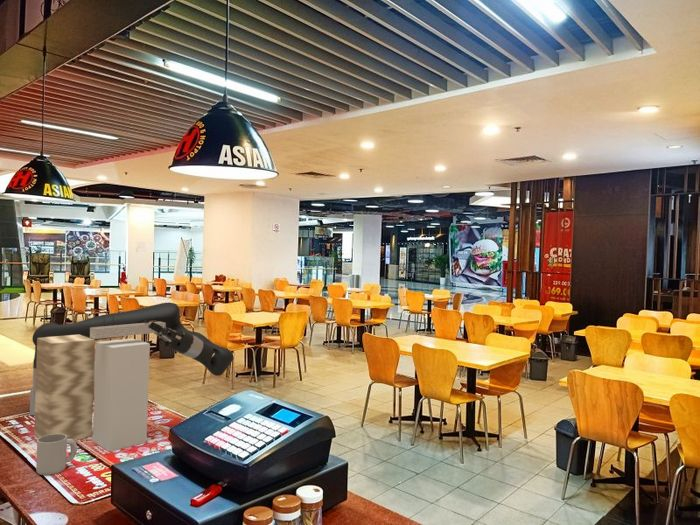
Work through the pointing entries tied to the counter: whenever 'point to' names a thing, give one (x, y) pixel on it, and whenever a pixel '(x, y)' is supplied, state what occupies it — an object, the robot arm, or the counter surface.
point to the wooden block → (122, 330)
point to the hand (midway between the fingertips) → (147, 323)
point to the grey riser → (121, 393)
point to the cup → (53, 453)
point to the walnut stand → (64, 386)
